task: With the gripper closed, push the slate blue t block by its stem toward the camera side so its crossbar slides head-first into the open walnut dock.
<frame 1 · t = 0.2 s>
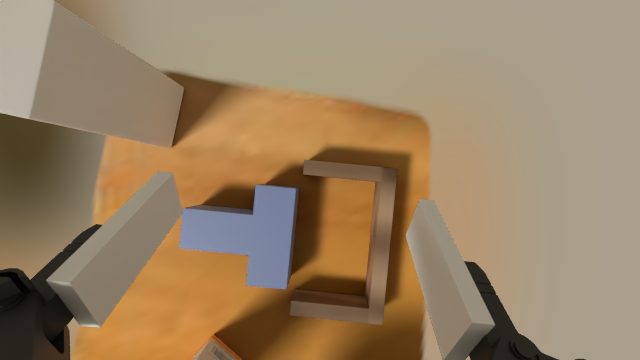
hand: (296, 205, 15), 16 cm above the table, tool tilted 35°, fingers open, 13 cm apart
milk carton: (149, 112, 31), on the table
slate blue t block: (243, 226, 31), on the table
walnut dock: (334, 235, 31), on the table
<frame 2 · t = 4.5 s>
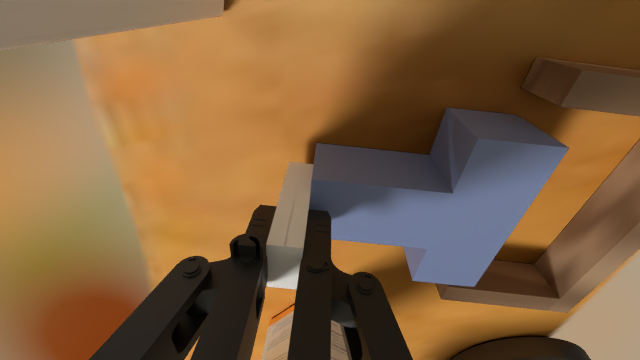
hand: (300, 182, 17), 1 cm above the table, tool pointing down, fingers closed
slate blue t block: (389, 178, 18), on the table
walnut dock: (528, 194, 18), on the table
supplement box: (311, 311, 27), on the table
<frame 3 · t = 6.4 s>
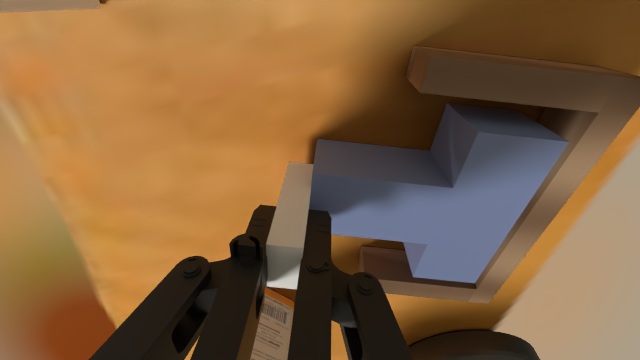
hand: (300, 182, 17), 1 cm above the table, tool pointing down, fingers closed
slate blue t block: (389, 174, 18), on the table, touching gripper
walnut dock: (438, 184, 18), on the table
supplement box: (254, 306, 27), on the table
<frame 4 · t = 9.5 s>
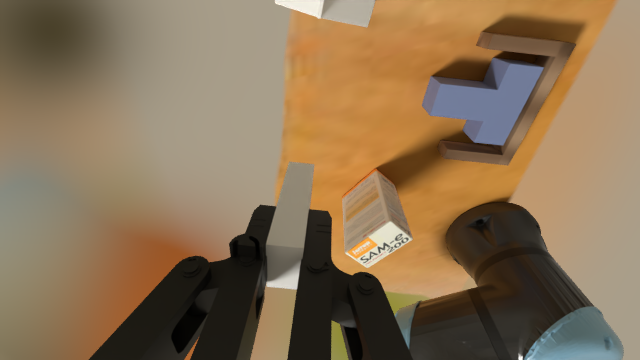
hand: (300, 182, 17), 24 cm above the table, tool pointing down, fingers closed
slate blue t block: (462, 95, 37), on the table
walnut dock: (485, 100, 37), on the table
supplement box: (367, 189, 47), on the table
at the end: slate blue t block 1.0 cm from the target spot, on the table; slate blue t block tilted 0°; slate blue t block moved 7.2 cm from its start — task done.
